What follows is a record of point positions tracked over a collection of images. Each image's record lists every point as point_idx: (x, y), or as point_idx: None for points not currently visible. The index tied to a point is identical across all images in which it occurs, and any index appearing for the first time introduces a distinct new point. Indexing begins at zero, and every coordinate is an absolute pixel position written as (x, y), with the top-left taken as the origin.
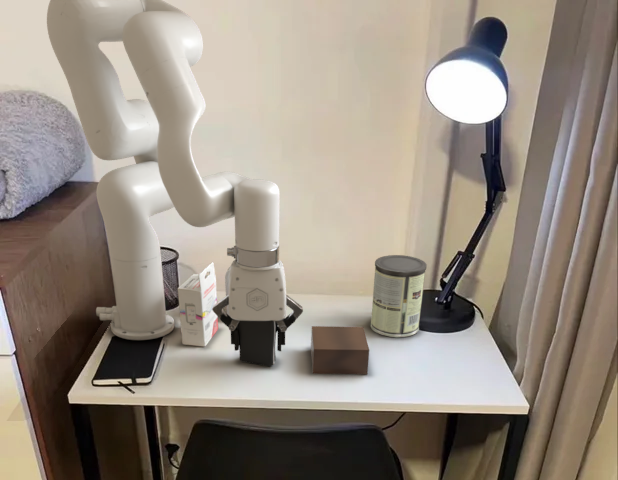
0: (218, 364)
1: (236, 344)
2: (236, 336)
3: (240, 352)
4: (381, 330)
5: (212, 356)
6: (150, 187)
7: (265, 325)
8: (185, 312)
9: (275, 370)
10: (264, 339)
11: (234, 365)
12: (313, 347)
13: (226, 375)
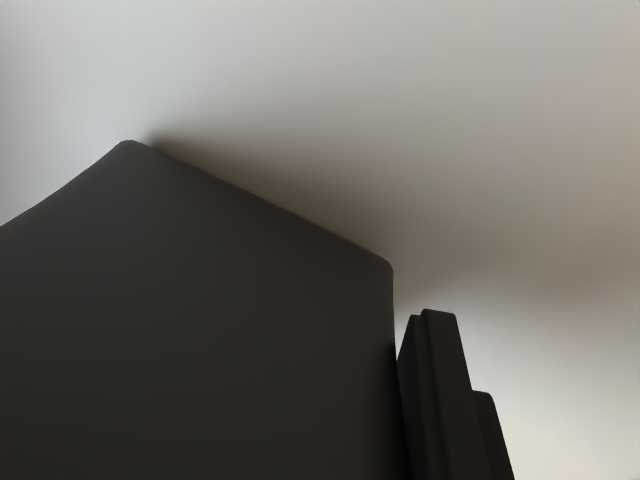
0: (573, 254)
1: (441, 355)
2: (452, 443)
3: (387, 306)
4: None
5: (579, 372)
6: None
7: None
8: None
9: (98, 78)
10: (49, 314)
11: (444, 218)
12: None
13: (565, 39)
